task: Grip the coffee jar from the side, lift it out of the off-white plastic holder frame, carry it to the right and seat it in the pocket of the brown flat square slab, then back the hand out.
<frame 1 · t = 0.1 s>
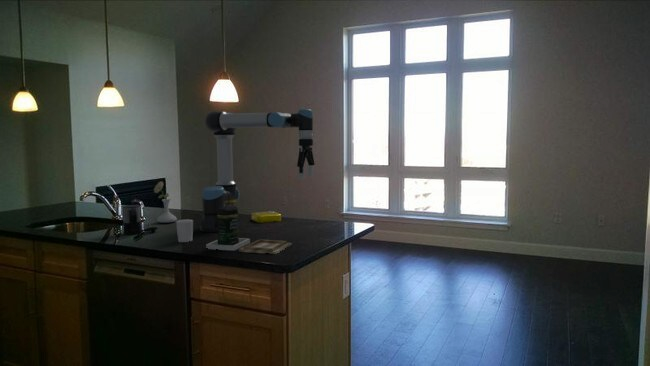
hand: (306, 178, 256), 28 cm above the worktop, tool pointing down, fingers open, 13 cm apart
brown flat square slab: (266, 248, 216), on the worktop
white cup: (185, 241, 233), on the worktop
flower in vase: (165, 222, 284), on the worktop
milk frother: (140, 233, 254), on the worktop
coffee jar: (228, 246, 222), on the worktop
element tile: (266, 221, 290), on the worktop
holder frame: (228, 245, 222), on the worktop
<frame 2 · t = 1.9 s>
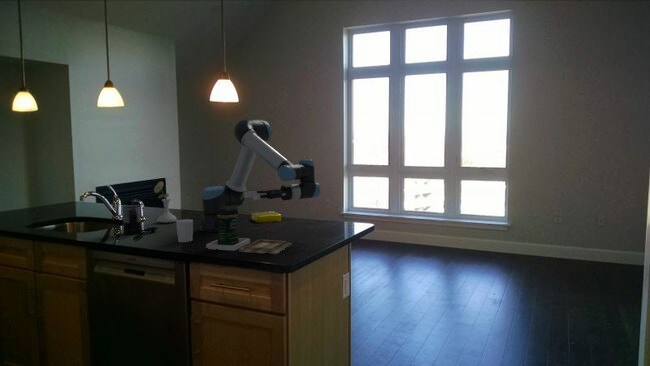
hand: (248, 196, 225), 23 cm above the worktop, tool horizontal, fingers open, 13 cm apart
nothing on the worktop moved.
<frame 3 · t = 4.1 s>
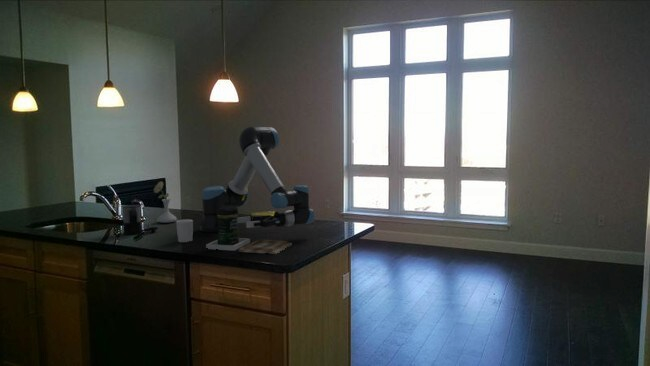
hand: (241, 222, 223), 10 cm above the worktop, tool horizontal, fingers open, 13 cm apart
nothing on the worktop moved.
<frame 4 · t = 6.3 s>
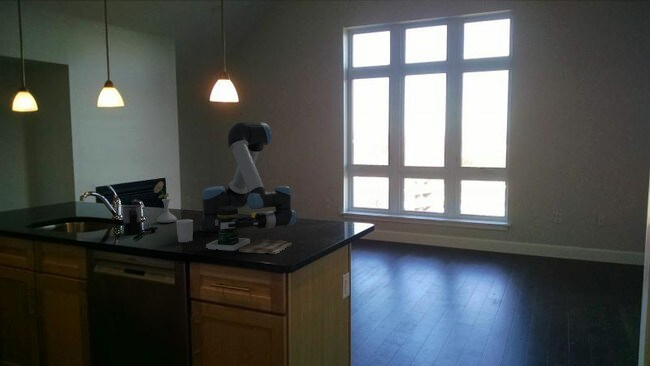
hand: (218, 224, 218), 11 cm above the worktop, tool horizontal, fingers closed on coffee jar, 9 cm apart
coffee jar: (228, 246, 222), on the worktop, touching gripper
everything else where it was.
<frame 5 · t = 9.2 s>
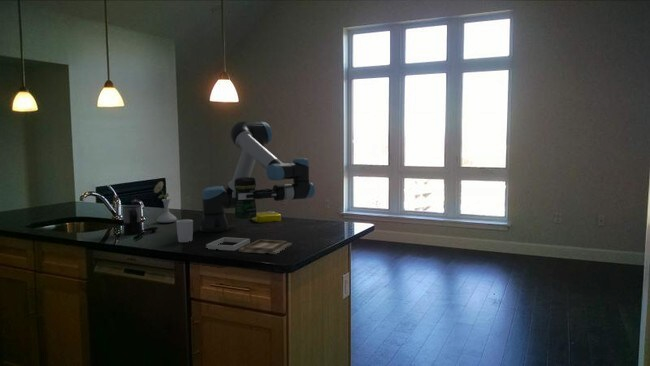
hand: (235, 195, 213), 24 cm above the worktop, tool horizontal, fingers closed on coffee jar, 9 cm apart
coffee jar: (246, 218, 216), point 13 cm above the worktop, touching gripper
everything else where it was.
when the fingers open (12 cm above the worktop, at t = 11.9 s): coffee jar stays where it is, resting on brown flat square slab.
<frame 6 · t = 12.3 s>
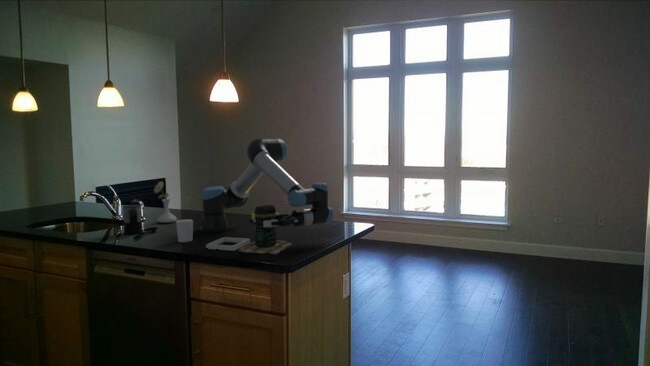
hand: (258, 221, 213), 12 cm above the worktop, tool horizontal, fingers open, 13 cm apart
coffee jar: (266, 246, 216), point 1 cm above the worktop, touching brown flat square slab
everything else where it was.
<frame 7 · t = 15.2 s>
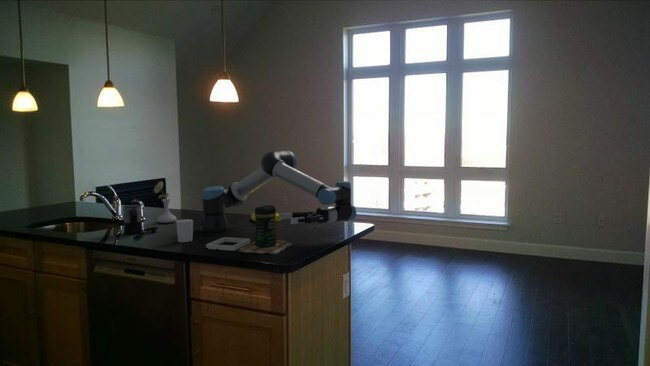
hand: (284, 218, 219), 13 cm above the worktop, tool horizontal, fingers open, 13 cm apart
nothing on the worktop moved.
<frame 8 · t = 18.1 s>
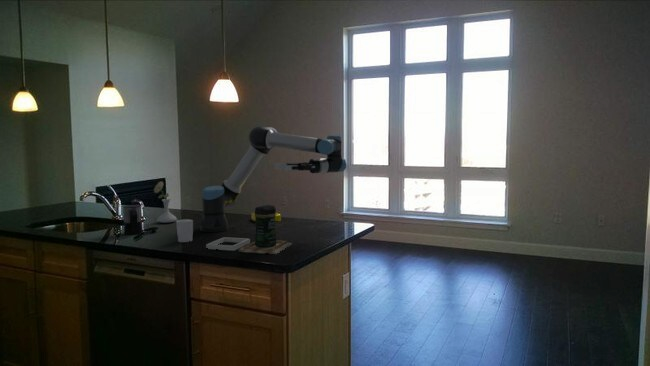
hand: (279, 167, 238), 35 cm above the worktop, tool horizontal, fingers open, 13 cm apart
nothing on the worktop moved.
at the end: coffee jar inside the target area on the brown flat square slab (0.1 cm from its centre), point 0.8 cm above the brown flat square slab's base; coffee jar tilted 0°; the gripper is holding nothing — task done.
